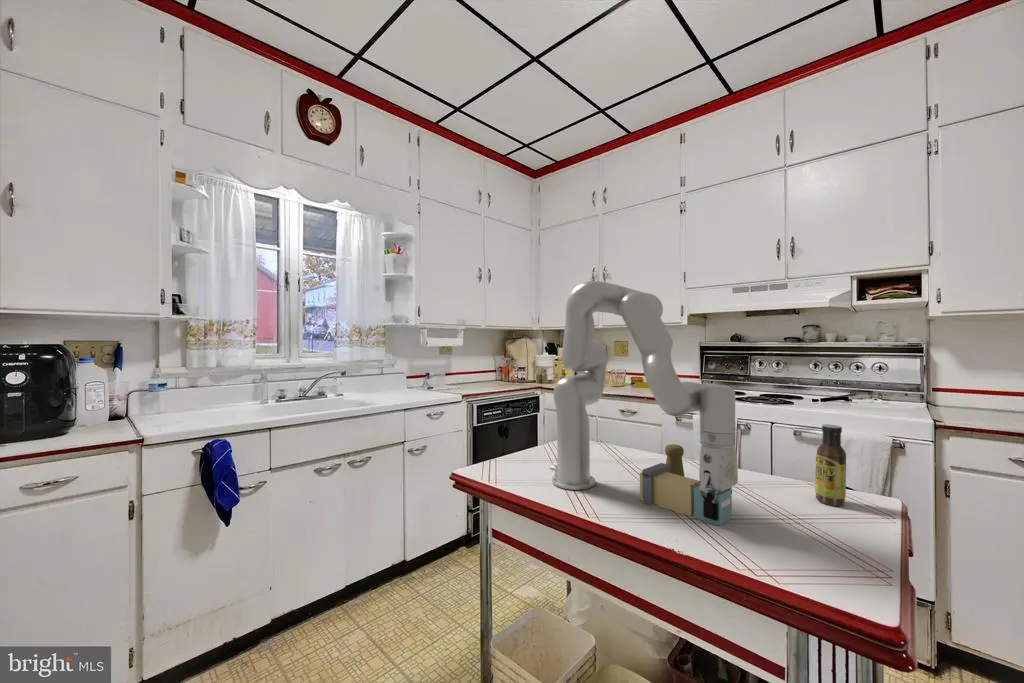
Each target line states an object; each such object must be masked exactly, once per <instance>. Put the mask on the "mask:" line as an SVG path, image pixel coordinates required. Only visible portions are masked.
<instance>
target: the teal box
mask: <svg viewBox="0 0 1024 683" xmlns="http://www.w3.org/2000/svg"><path fill="white" fill-rule="evenodd" d="M699 487H700V485H699V486H697V487H695V488H694V515H693V518H695V519H697V520H701V521H703V522H706V523H709V524H713V525H715V526H718V525H719V527H721V526H722V525H723V523H724V524H725V523H727V522H729V521H730V520H732V511H731V496H732V495H731V489H729V488H728V489H726V490H724V491H722V492H718V495H717V501H716V503H718V520H717V521H715V520H712V519H709V518H706V517H704V516H703V500H702V495H701V493H700V491H699ZM708 487H710V488H713V486H712V485H709V486H708ZM708 492H709V493H711V495H712V496H713V491H710V490H708ZM729 519H730V520H729ZM726 521H727V522H726ZM721 524H722V525H721Z"/></svg>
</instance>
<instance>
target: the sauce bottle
mask: <svg viewBox="0 0 1024 683" xmlns="http://www.w3.org/2000/svg"><path fill="white" fill-rule="evenodd" d="M821 430H822V443H821V444H820V445H819V447H817V450H816V455H815V483H814V484H815V485H814V486H815V487H814V490H815V491H814V492H815V500H817V501H818V502H820V503H822V504H825V505H828V506H832V507H843V506H844V505H845V504H846V495H847V494H846V491H847V488H846V487H847V453H846V451H845V449H844V448H843V447H842V440H841V437H842V435H841V434H842V432H843V427H842V426H841V425H835V424H826V423H825V424H822V425H821Z"/></svg>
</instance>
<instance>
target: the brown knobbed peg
mask: <svg viewBox="0 0 1024 683" xmlns="http://www.w3.org/2000/svg"><path fill="white" fill-rule="evenodd" d="M684 451H685V450H684V448H683V447H682V446H681V445H680V444H676V443H672V444H671V443H670V444H667V445H665V447H664V452H665V455H666V461H665V462H666V463H665V464H668V465H670V473H672V474H676V475H680V476H684V477H686V475H685V470H684V465H683V456H684V453H685V452H684Z"/></svg>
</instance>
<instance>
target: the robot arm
mask: <svg viewBox="0 0 1024 683" xmlns="http://www.w3.org/2000/svg"><path fill="white" fill-rule="evenodd" d="M565 307H566V308H565V325H564V332H563V340H562V342H563V343H562V351H561V352H562V353H561V363H562V365H563V367H564V369H566V370H567V371H568V372H573V373H575V372H576V373H577V374H576V375H570V376H569V375H568V376H565V377H562V378H561V379H560V380H558V381H557V383H556V384H555V386H554V388H553V401H554V405H555V414H556V441H557V442H556V444H557V446H556V450H557V451H556V452H557V454H556V456H557V461H553V462H552V464H551V465H550V466H549V470H551V471H554V475H553V476H552V479H551V481H552V483H553V485H555V486H556V487H558V488H560V489H563V490H564V489H565V490H576V491H578V490H580V491H581V490H587V489H591V488H593V487H594V486H595V484H596V478H595V477H594V476H593V475H591V469H590V468H591V465H590V463H591V461H590V460H591V457H590V456H591V454H590V452H591V451H590V446H591V445H590V438H591V437H590V419H589V415H588V411H587V409H586V408H587V407H586V406H590V405H593V404H595V403H597V402H599V401H600V399H601V398H602V396H603V394H604V389H605V381H606V373H607V372H606V371H607V362H608V356H607V350H606V348H605V347H604V345H603V344H602V343H601V342H600V341H598V340H597V339H596V340H595V339H594V335H595V320H594V316H593V315H594V313H596V312H597V313H598V312H599V313H608V314H612V315H613V314H614V315H617V316H619V317H622V320H623V322H624V323H625V326H626V327H627V329H628V331H629V333H630V334H631V337H632V339H633V340H634V342H635V344H636V347H637V349H638V350H639V352H640V355H641V364H642V368H643V374H644V377H645V381H646V383H647V386H648V388H649V389H650V393H651V394H652V395H653V397H654V400H655V401H656V403H657V405H658V406H659V407H660V409H661V410H662V411H663V412H664V413H665V414H667V415H669V416H672V417H683V416H685V415H687V414H690V413H694V412H699V444H700V445H701V446H700V447H701V448H700V452H699V453H700V455H699V457H700V458H699V473H698V476H699V478H698V479H699V481H700V487H699V491H700V493H701V495H702V500H703V516H704V517H706V518H709V519H712V520H715V521H717V520H718V503H716V501H717V495H718V492H722V491H724V490H726V489H728V488H729V489H731V512H732V509H733V507H732V506H733V505H732V503H733V502H732V497H733V496H732V495H733V487H734V486H736V485H737V484H738V481H739V475H738V457H737V450H736V391H735V389H734V388H733V387H732V386H729V385H724V384H702V383H697V382H692V381H682V382H681V379H680V377H679V376H678V374H677V372H676V370H675V368H674V365H673V362H672V349H673V344H674V342H673V338H672V336H671V334H670V333H669V331H668V329H667V327H666V325H665V323H664V321H663V320H662V315H663V312H664V307H663V303H662V301H661V299H660V298H659V297H658V296H656V295H655V294H652V293H648V292H643V291H640V290H637V289H633V288H629V287H625V286H623V285H619V284H614V283H610V282H606V281H600V280H590V281H584V282H582V283H580V284H578V285H577V286H575V287H574V288H573V289H572V291H571V292H570V294H569V295H568V298H567V301H566V306H565ZM709 485H712V486H713V488H710V487H708V486H709ZM708 490H710V491H713V496H712V495H711V493H709V492H708Z"/></svg>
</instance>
